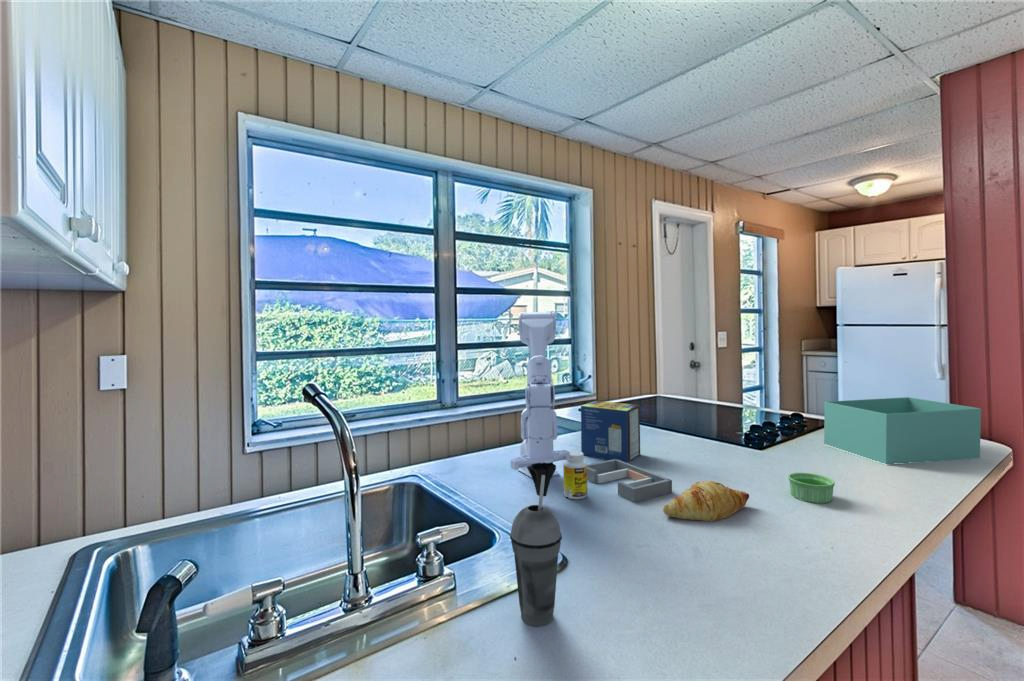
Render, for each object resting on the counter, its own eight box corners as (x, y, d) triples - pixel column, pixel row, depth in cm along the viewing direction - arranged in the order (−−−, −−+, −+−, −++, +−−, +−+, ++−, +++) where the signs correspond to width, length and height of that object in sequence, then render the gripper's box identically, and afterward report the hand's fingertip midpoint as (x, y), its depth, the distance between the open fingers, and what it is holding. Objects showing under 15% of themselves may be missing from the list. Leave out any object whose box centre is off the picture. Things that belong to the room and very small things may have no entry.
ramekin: (825, 492, 109) (825, 473, 109) (841, 506, 101) (841, 487, 100) (783, 489, 112) (783, 471, 111) (795, 503, 103) (795, 483, 103)
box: (980, 458, 133) (981, 408, 132) (886, 466, 128) (886, 414, 127) (907, 440, 153) (908, 397, 153) (823, 446, 148) (824, 401, 148)
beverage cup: (509, 602, 68) (506, 468, 67) (557, 598, 69) (556, 466, 68) (513, 635, 61) (511, 486, 60) (568, 631, 62) (566, 483, 61)
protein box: (595, 447, 151) (594, 400, 150) (640, 454, 142) (640, 404, 141) (580, 455, 143) (579, 405, 142) (628, 463, 134) (627, 410, 133)
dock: (581, 476, 122) (581, 465, 122) (616, 469, 128) (616, 458, 128) (633, 502, 105) (633, 489, 105) (672, 492, 110) (671, 480, 110)
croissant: (672, 541, 93) (684, 514, 90) (647, 502, 102) (656, 476, 98) (756, 523, 100) (770, 498, 96) (725, 488, 108) (737, 463, 104)
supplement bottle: (574, 502, 106) (573, 457, 105) (558, 494, 110) (558, 452, 110) (592, 496, 109) (591, 453, 108) (576, 489, 113) (576, 448, 113)
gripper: (521, 444, 97) (522, 507, 98) (577, 435, 104) (577, 494, 105) (505, 437, 104) (507, 497, 104) (559, 429, 110) (560, 485, 111)
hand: (541, 495), depth 105 cm, fingers closed
